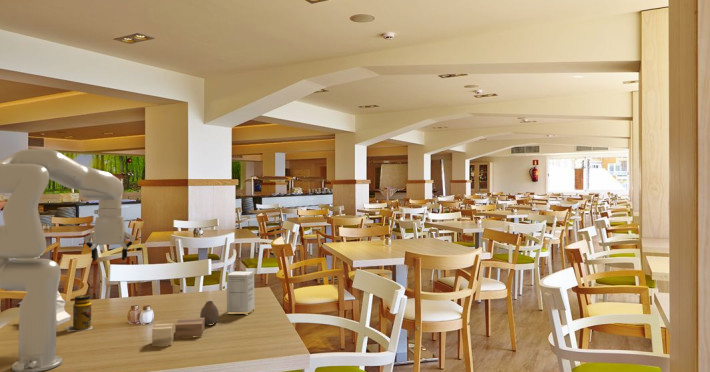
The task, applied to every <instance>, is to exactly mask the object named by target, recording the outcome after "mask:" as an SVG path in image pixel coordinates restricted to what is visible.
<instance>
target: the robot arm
mask: <svg viewBox="0 0 710 372" xmlns="http://www.w3.org/2000/svg"><path fill="white" fill-rule="evenodd" d="M50 180H51V181H53V182H55V183H57V184H59V185H61V186H63V187H65V188H67V189H73V190H77V191H78V193H79V195H80V196H81V197H82V198H83V199H85V200H90V201H98V208H97V209H95V210H94V211H93V213H94V215H98V216H96V217H95V221H94V227H93V233H90V234H88V235H87V236H85V237H83V241H84V242H85V245H86V246H87V247H88V248H89V249H90V250H91V259H92V261H93V262H96V261H97V260H98V249H97V247H99V246H105V245H106V246H108V245H113V246H114V245H120V246H121V247H122V250H121V260H122V261H125V260H126V259H127V258H128V248H129V247H131V245H133V243H134V241H135V240H136V236H135V235H132V234H130V233H128V232H127V231H126V227H125V220H124V217H123V216H122V196H123V194H124V192H125V191H124V190H125V189H124V185H123V183H122V181H121V180H120V179H119V178H118V177H117V176H115V175H114V174H112V173H110V172H108V171H105V170H100V169H98V168H93V167H91V166H88V165H83V164H81V163H79V162H77V161H75V160H73V159H72V158H70V157H69V156H67V155H64V154H63V153H62V152H59V151H58V150H54V149H50V148H49V149H48V148H44V149H43V148H37V149H36V148H34V149H33V148H31V149H30V148H26V149H22V150H19V151H16V152H15V153H12V154H9V155H8V156H6V157H4V158H2V159H0V194H10V196H9V198H8V199H7V200H6V202H5V204H4V205H3V209H2V220H3V223H4V225H0V289H2V290H4V291H13V292H14V291H18V292H19V291H20V292H22V291H23V292H26V293H25V295H24V297H23V299H22V300H21V301H20V304H19V307H18V361H15V362H14V363H12V365H11V370H12V371H13V372H43V371H47V370H51V369H55V368H56V367H59V366H60V365H62V362H63V357H61V356H59V355H57V325H56V313H57V311H56V309H57V292H59V285H60V280H61V278H62V277H61V275H62V271H61V267H60V265H59V264H58V263H57V262H56V261H54V260H52V259H48V258H40V257H41V256H42V255H43V254H45V252H46V249H47V240H46V235H45V233H44V229H43V226H42V225H43V224H42V222H41V218H40V213H39V202H40V201H41V198H42V196H43V194H44V192H45V190H46V189H47V188H48V184H49V181H50ZM92 238H93V243H92V242H91V241H90V239H92ZM126 238H128V239H129V241H128V242H127V243H126Z"/></svg>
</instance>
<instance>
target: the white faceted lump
mask: <svg viewBox="0 0 710 372" xmlns="http://www.w3.org/2000/svg"><path fill="white" fill-rule="evenodd" d="M65 305H66V300H64V299H63V297H62V295H61V293H60V292H59V291H58V292H57V309H56V311H57V313H56V326H59V325H61V324H64V323H67V322H69V321H70V320H71V317H72V316H71V314H69V313H68V312H66V310H65Z"/></svg>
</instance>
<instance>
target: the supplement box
mask: <svg viewBox="0 0 710 372" xmlns="http://www.w3.org/2000/svg"><path fill="white" fill-rule="evenodd" d="M253 308H254V309H255V271H239V270H237V271H235V270H234V271H232V272H230V273H228V274H226V313H227V312H249V311H250V310H252V309H253Z"/></svg>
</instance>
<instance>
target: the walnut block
mask: <svg viewBox="0 0 710 372" xmlns="http://www.w3.org/2000/svg"><path fill="white" fill-rule="evenodd" d="M205 326H206V325H205V318H200V317H186V318H185V317H184V318H183V317H182V318H178V320H177V321H176V322H175V332H174V338H175V339H182V338H181V337H193V336H202V337H203V335H204V333H203V331H204V332H205V330H204V329H205ZM202 334H203V335H202Z"/></svg>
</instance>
